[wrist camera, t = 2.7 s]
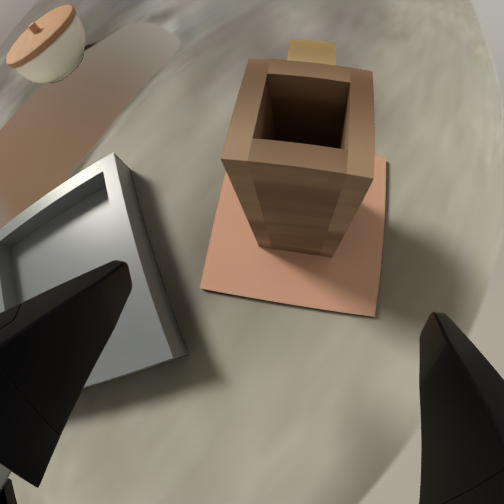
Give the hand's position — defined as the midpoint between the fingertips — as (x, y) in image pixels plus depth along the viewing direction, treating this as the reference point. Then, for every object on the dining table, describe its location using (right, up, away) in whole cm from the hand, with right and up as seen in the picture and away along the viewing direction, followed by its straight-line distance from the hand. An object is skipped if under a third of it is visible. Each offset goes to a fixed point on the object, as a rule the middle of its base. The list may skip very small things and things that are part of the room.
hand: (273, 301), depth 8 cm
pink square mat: (+3, +4, +14) cm, 14 cm away
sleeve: (+3, +4, +13) cm, 14 cm away
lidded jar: (-26, +26, +23) cm, 44 cm away
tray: (-15, -2, +15) cm, 21 cm away
